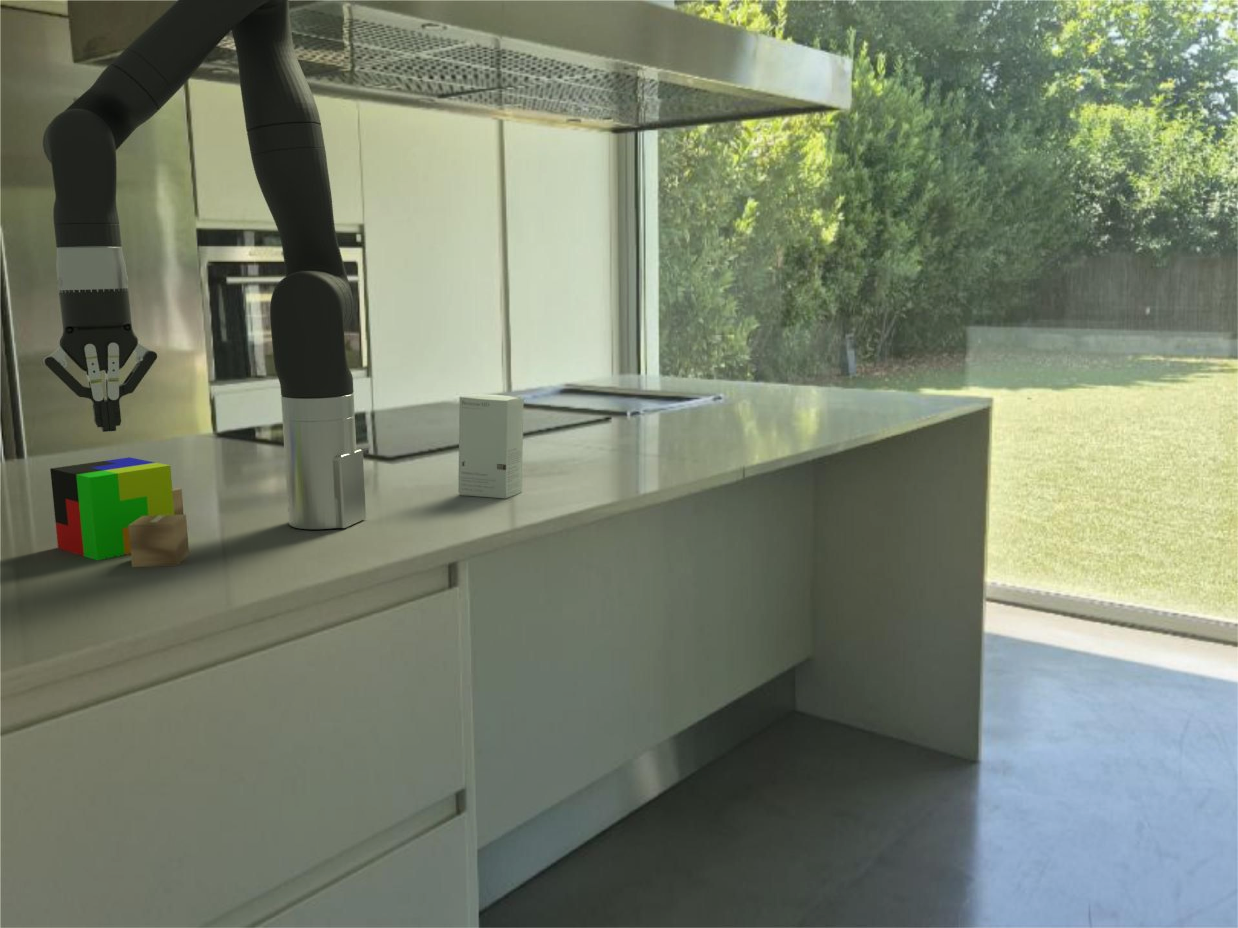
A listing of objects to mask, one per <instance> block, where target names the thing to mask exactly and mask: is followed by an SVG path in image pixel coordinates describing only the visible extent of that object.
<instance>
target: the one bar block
mask: <svg viewBox="0 0 1238 928" xmlns="http://www.w3.org/2000/svg"><path fill="white" fill-rule="evenodd" d="M187 525H188V523H187V514H184V515H152V516H142V517H140V518H139V519H137V520H136V521H134V522H133V523H131V524H130V525H128V528H129V539H130V550H131V554H130V559H131V561H130V562H131V567H132V568H140V567H141V568H142V567H144V568H146V567H147V568H149V567H172V566H174V567H175V566H178V565H179V564H181V562H182V561H184V560H185V559H186V558H187V557H189V555H190V550H189V537H188V535H189V534H188V526H187ZM184 558H185V559H184Z"/></svg>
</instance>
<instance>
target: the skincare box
mask: <svg viewBox="0 0 1238 928" xmlns="http://www.w3.org/2000/svg"><path fill="white" fill-rule="evenodd" d="M524 400H525V398H524V397H522V396H513V395H501V394H487V393H486V394H485V393H475V394H474V393H473V394H467V395H461V396H459V409H458V410H459V412H458V413H459V418H458V419H459V420H458V425H459V426H458V427H459V428H458V495H459V496H463V497H464V496H468V497H477V498H478V497H479V498H480V497H481V498H496V499H509V498H511V497H514V496H516V495H519V494H521V493H522V492H523V456H524V454H523V453H524V452H523V446H524Z"/></svg>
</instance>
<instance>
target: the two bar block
mask: <svg viewBox="0 0 1238 928" xmlns="http://www.w3.org/2000/svg"><path fill="white" fill-rule="evenodd" d="M182 490H183V489H182V488H177V487H172V493H173V506H174V515H185V513H184V505H183V504H184V502H183V491H182Z"/></svg>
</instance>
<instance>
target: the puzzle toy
mask: <svg viewBox="0 0 1238 928" xmlns="http://www.w3.org/2000/svg"><path fill="white" fill-rule="evenodd" d="M50 480H51V488H52V500H53V501H52V502H53V510H54V511H53V512H54V522H55V531H56V540H57V541H56V543H57V548H58V549H61V550H64V551H68V552H70V553H73V554H77V555H79V556H83V557H86V558H89V559H93V560H94V561H101V560H106V559H105V558H107V559H110V558H115V557H114V556H116V557H119V556H120V555H121V556H125V555H124V554H126V555H130V554H129V553H131V550H130V539H129V528H128V525H130V524H131V523H133V522H134V521H136V520H137V519H139V518H140V517H142V516H152V515H174V506H173V493H172V488H173V484H172V483H173V482H172V469H171V465H169V464H165V463H160V462H155V461H150V460H144V459H139V458H136V457H130V456H129V457H122V458H115V459H109V460H107V459H106V460H102V461H95V462H88V463H81V464H74V465H73V464H72V465H66V466H60V467H59V466H58V467H52V468H50Z"/></svg>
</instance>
